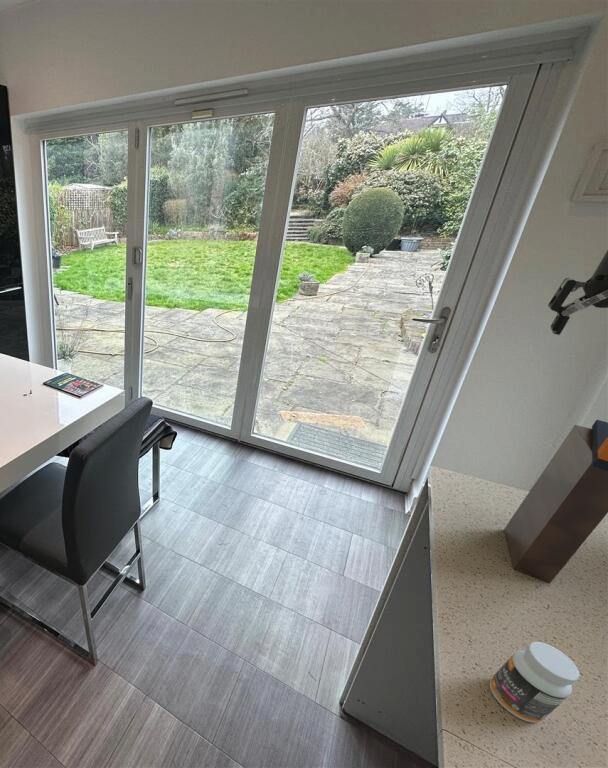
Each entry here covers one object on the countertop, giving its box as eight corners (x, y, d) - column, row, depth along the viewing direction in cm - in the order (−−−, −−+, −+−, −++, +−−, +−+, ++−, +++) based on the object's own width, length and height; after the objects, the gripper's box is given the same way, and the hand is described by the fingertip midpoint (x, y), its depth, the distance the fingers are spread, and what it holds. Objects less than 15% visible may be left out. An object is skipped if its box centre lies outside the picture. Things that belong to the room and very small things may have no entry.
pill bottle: (478, 674, 60) (511, 633, 55) (521, 681, 59) (559, 640, 54) (507, 720, 55) (547, 680, 50) (554, 728, 54) (599, 688, 49)
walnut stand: (536, 540, 82) (615, 434, 70) (550, 583, 74) (643, 470, 62) (503, 529, 85) (574, 424, 73) (513, 569, 76) (595, 457, 64)
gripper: (588, 248, 71) (539, 335, 79) (718, 259, 64) (650, 354, 71) (576, 243, 77) (532, 325, 84) (694, 253, 69) (634, 341, 77)
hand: (586, 338), depth 78 cm, fingers open, 8 cm apart
